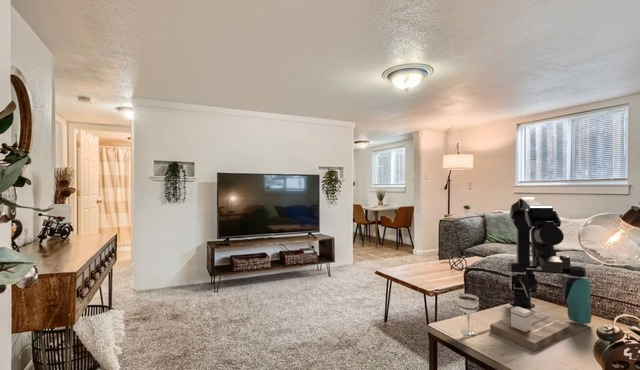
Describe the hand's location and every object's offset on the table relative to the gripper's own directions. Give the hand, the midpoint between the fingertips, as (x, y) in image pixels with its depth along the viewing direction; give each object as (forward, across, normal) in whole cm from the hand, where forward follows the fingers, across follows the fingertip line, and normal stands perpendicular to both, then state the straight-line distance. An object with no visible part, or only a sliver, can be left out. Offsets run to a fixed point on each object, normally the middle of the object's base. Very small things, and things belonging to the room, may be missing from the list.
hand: (546, 299), depth 94 cm
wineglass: (+14, -21, +9) cm, 27 cm away
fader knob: (+11, -5, +10) cm, 15 cm away
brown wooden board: (+12, -1, +14) cm, 19 cm away
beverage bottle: (+10, +16, +24) cm, 31 cm away
